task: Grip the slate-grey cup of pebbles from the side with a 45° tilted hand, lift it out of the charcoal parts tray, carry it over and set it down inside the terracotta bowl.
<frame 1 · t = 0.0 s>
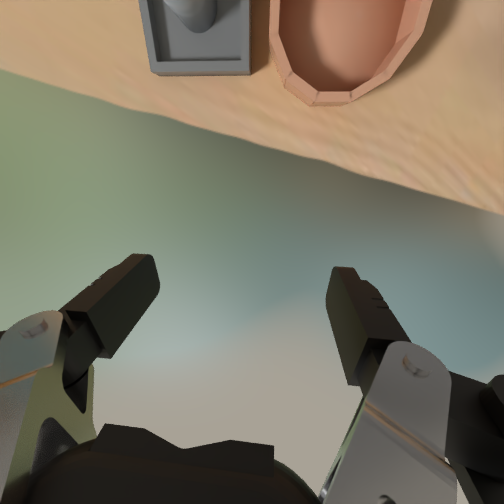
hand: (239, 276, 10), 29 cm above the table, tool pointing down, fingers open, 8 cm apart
bowl: (336, 27, 26), on the table
pebble cup: (196, 4, 25), point 1 cm above the table, touching parts tray
parts tray: (199, 8, 26), on the table
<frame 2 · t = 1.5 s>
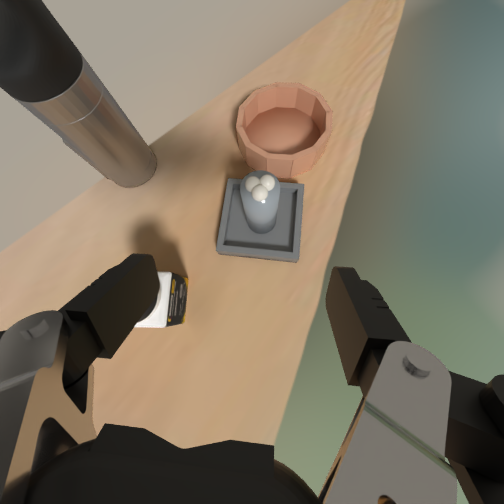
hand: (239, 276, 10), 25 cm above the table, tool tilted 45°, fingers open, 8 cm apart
medicine bottle: (166, 300, 35), on the table
bowl: (281, 141, 41), on the table
pebble cup: (261, 219, 36), point 1 cm above the table, touching parts tray
parts tray: (261, 222, 37), on the table
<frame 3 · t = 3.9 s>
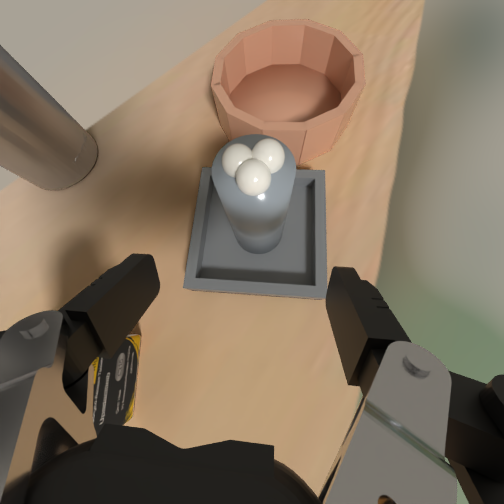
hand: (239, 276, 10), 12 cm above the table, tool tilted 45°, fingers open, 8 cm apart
medicine bottle: (104, 373, 20), on the table
bowl: (282, 112, 27), on the table
pebble cup: (258, 231, 22), point 1 cm above the table, touching parts tray
parts tray: (258, 234, 23), on the table
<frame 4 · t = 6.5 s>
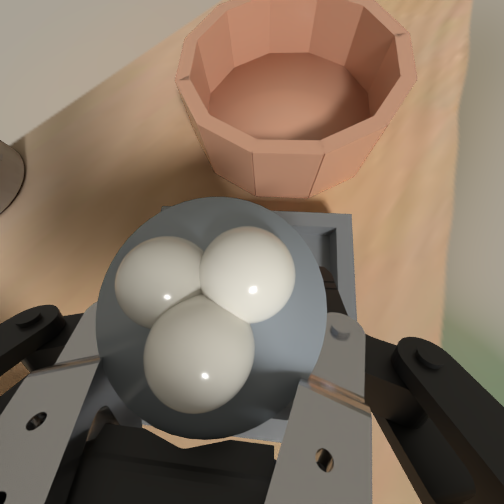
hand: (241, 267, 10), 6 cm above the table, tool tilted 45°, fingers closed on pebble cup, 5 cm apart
bowl: (285, 119, 19), on the table
pebble cup: (247, 308, 14), point 1 cm above the table, touching gripper, parts tray
parts tray: (248, 308, 15), on the table
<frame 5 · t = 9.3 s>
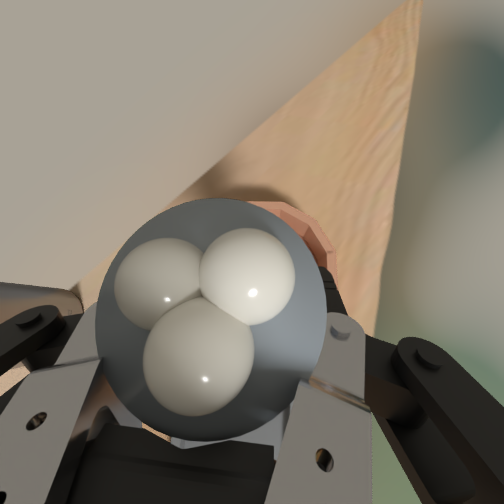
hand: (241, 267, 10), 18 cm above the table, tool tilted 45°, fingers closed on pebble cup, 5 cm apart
bowl: (263, 274, 28), on the table
pebble cup: (247, 308, 14), point 13 cm above the table, touching gripper
parts tray: (238, 423, 24), on the table
when the fingers open (7 cm above the table, at t = 12.4 s): pebble cup stays where it is, resting on bowl.
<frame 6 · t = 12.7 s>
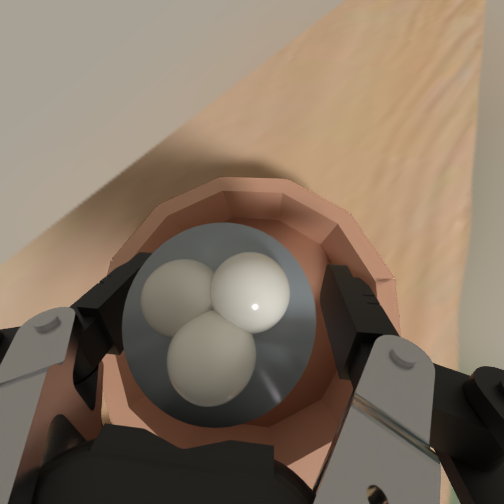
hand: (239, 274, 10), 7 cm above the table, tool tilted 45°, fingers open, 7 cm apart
bowl: (249, 308, 16), on the table
pebble cup: (247, 310, 15), point 1 cm above the table, touching bowl
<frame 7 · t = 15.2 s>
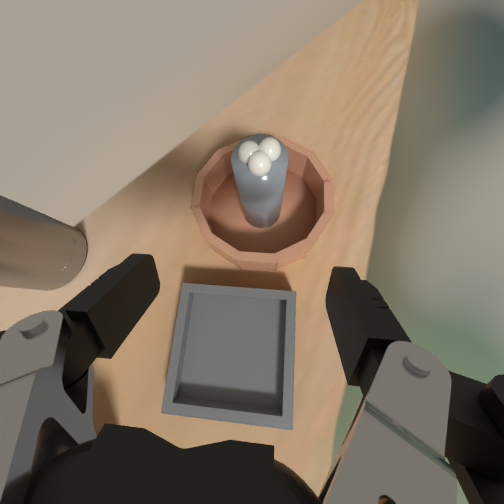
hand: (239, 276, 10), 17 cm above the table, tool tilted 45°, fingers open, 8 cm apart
bowl: (262, 213, 29), on the table
pebble cup: (261, 210, 28), point 1 cm above the table, touching bowl
parts tray: (235, 345, 25), on the table
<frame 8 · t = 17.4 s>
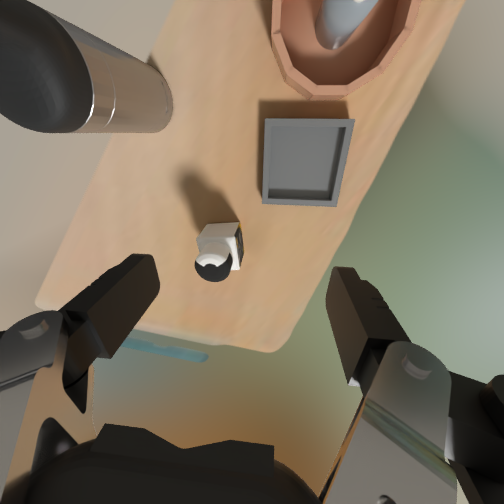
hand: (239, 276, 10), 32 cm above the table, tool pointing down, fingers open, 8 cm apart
medicine bottle: (226, 237, 45), on the table
bowl: (333, 25, 28), on the table
pebble cup: (335, 23, 27), point 1 cm above the table, touching bowl
parts tray: (301, 164, 36), on the table
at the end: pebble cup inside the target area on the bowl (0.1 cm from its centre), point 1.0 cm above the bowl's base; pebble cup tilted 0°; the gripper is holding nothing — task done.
